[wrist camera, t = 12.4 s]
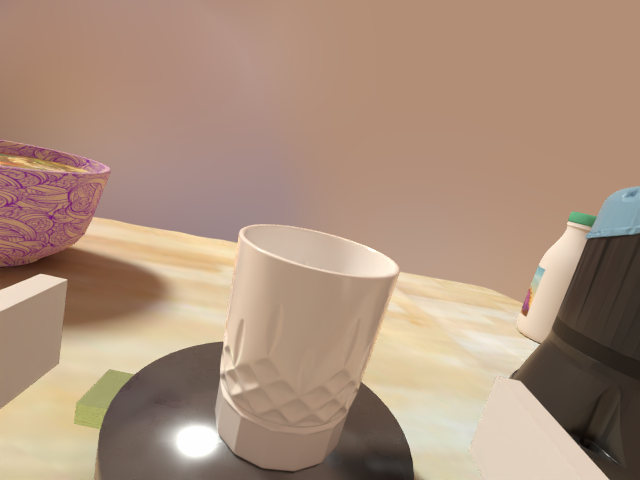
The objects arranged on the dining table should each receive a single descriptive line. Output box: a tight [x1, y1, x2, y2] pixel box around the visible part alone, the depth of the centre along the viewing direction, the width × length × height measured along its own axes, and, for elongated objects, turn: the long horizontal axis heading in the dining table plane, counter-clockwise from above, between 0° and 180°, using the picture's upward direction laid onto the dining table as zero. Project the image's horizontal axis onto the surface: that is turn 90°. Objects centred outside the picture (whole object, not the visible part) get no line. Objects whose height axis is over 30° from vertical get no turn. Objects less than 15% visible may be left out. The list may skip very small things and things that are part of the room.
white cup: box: [215, 224, 400, 471], centre depth 19 cm, size 8×8×10 cm
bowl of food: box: [0, 140, 110, 267], centre depth 41 cm, size 20×20×12 cm
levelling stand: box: [74, 342, 414, 480], centre depth 21 cm, size 17×16×4 cm
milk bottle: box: [516, 212, 597, 343], centre depth 57 cm, size 8×8×20 cm
